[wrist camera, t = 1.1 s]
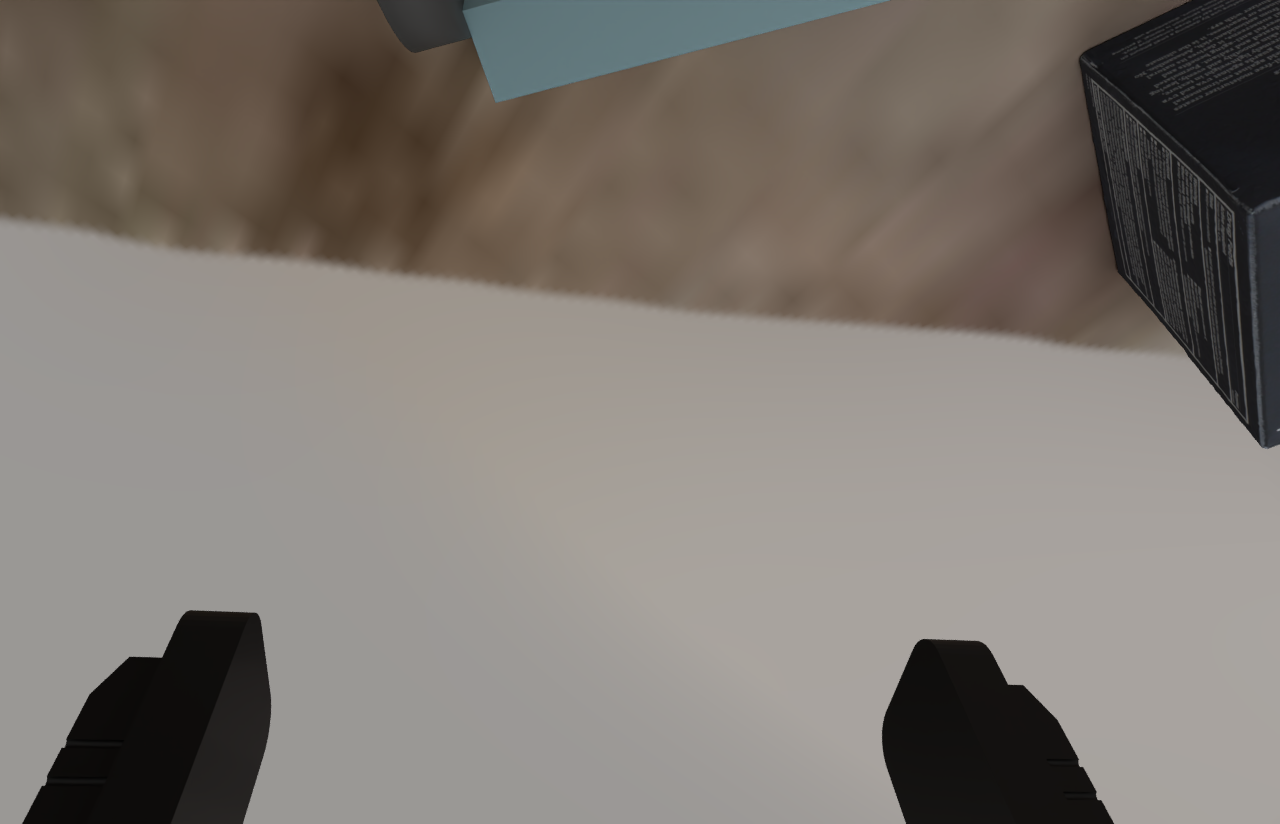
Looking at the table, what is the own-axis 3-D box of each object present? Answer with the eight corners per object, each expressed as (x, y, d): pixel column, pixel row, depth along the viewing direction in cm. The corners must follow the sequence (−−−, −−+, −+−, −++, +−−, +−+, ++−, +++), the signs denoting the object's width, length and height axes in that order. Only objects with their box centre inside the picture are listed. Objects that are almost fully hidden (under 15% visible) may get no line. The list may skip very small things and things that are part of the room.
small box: (1285, 205, 36) (1480, 384, 28) (1114, 275, 38) (1255, 460, 30) (1279, -47, 29) (1534, 99, 22) (1072, 53, 31) (1240, 220, 23)
